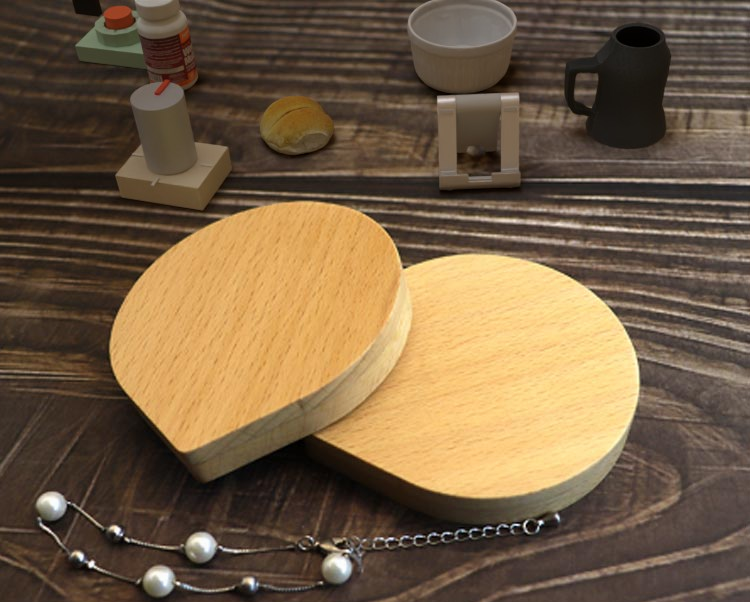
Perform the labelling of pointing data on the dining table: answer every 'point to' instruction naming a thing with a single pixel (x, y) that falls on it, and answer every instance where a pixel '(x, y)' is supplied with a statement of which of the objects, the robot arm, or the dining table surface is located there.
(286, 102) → the bread roll
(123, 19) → the button
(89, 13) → the robot arm
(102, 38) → the button box
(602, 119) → the mug
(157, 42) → the pill bottle
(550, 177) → the dining table surface
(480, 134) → the tablet stand
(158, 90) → the dial
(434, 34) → the ramekin
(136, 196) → the beige square base
